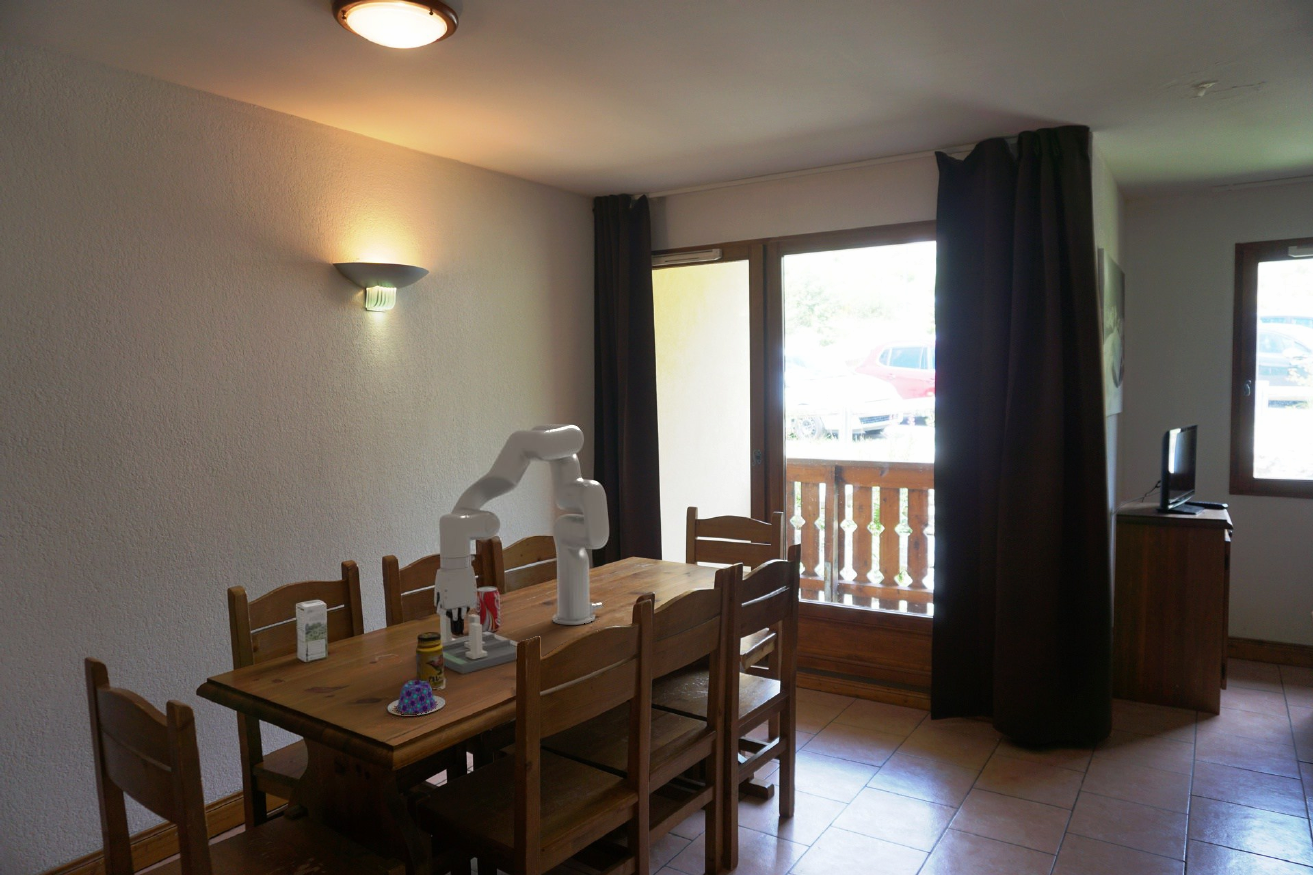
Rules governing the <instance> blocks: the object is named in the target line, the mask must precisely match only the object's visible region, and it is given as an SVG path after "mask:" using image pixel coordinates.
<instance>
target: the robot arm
mask: <svg viewBox="0 0 1313 875" xmlns="http://www.w3.org/2000/svg"><path fill="white" fill-rule="evenodd" d="M584 442H585V437H584V433H583V431H582V430H581V429H580V428H579V427H578V426H576V425H574V424H558V423H557V424H555V423H553V424H551V423H547V424H546V423H544V424H543V423H542V424H537V425H535V426H533V427H532V428H531V429H530V430H529V429H527V430H526V429H525V430H524V429H523V430H516V431H514V432H512V433H511V434H510V435H509V437H508V439H506V442H505V443H504V445H503V447H502V448H501V450H500V453H499V454H498V456H497V457H496V459H495V460H494V462H493V464H492V466H491V468H490V469H489V471H487V473H486V474H484V475H483V476H481V477H480V478H479V479H478V480H476V481H475V482H474V483H472V484H471V485H470V486H468V488H466V490H464V491H463V493H462V494H461V495H460V497H459V498H458V500H457V502H456V503H455V505H454V507H453V509H452V510H451V512H450V513H447V514H444V515H442V516H440V518H439V523H438V526H439V527H438V528H439V555H440V556H439V558H440V559H439V560H440V564H439V565H440V568H438V569H437V571H436V575H435V582H434V593H433V594H434V596H433V597H434V598H433V603H434V606H435V607H436V614H437V615H439V616H440V615H446V616H447V617H448V618H449V619H450V628H451V632H452V635H453V636H457V637H459V636H463V635H464V630H465V619H466V618H467V614H468V613H469V611H471V610H473V609H474V610H475V608H476V601H477V589H478V588H477V586H478V585H477V578H476V574H475V570H474V566H472V562H474V561H475V559H476V556H475V555H472V553H471V552H472V551H471V541H478V540H479V541H484V540H490V539H492V538H494V537H495V536H496V535H497V534H498V532H499V530H500V528H501V521H500V519H499V516H497V515H496V514H495V513H494V512H492V511H489V510H483V509H482V510H481V508H483V506H485V504H487V503H488V502H490V501H491V500H493V499H495V498H498V497H500V496H503V495H505V494H508V493H510V492H512V491H514V490H516V488H517V487H518V486H519V484H520V482H521V480H522V478H523V476H524V475H525V473H526V471H527V469H528V468H529V466H530V464H531V463H532V462H544V463H545V462H548V464H549V467H550V472H551V478H552V479H551V481H552V488H553V497H554V502H555V506H556V507H557V508H558V509H560V510H564V511H568V512H576V513H567V514H563V515H560V516H558V517H557V519H555V521H554V523H553V526H552V536H553V537H552V538H553V541H554V542H553V543H554V545H555V552H556V553H555V554H556V581H557V582H556V584H557V585H556V586H557V587H556V588H557V589H556V590H557V594H556V595H557V613H555V614H554V615H553V616H552V622H554V623H555V624H559V625H567V626H576V625H584V623H585V624H589V623H591V621H592V622H593V621H595V619H596V614H594V612H595V610H601V609H602V608H603V604H602V602H601V601H600V602H596V603H594V602H591V600H590V598H591V597H590V559H589V556H588V553H587V551H586V549H589V550H598V549H602V548H604V547H605V545H606V544H607V542H608V541H609V536H610V523H609V521H610V520H609V515H608V514H609V513H608V511H609V510H608V504H607V503H608V501H607V494H606V492H605V489H604V487H603V485H602V484H601V483H600V482H598V481H596V480H593V479H586V478H585V479H584V478H583V477H582V472H581V466H580V461H579V460H580V459H579V457H578V455H577V454H578V453H579V452H580V451H581V450H582V448H583V446H584ZM577 512H579V513H582V514H577Z"/></svg>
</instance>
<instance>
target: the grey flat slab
mask: <svg viewBox="0 0 1313 875" xmlns="http://www.w3.org/2000/svg"><path fill="white" fill-rule="evenodd" d="M454 639H456V640H457V642H454V643H450V644H446V645H442V646H443V667H446V668H448V669H450V670H453V671H455V672H457V673H459V674H461V675H464V674H467V673H468V674H469V673H471V672H475V671H480V670H483V669H487V668H491V667H495V666H498V665H502V664H503V665H504V664H506V663H510V662H513V661H517V660H516V648H517V643H519V642H518V641H515V640H512V639H509V638H506V637H504V636H501V635H498V634H495V633H494V632H488V631H487V632H482V641H483V642H485V645H482V650H484V651H486V652H487V656H485V657H481V658H477V659H471V658H469V657H466V652H469V651H470V649H469V648H467V647H464V643H465V642H469V634H468V635H464V636H461V637H456V638H454Z"/></svg>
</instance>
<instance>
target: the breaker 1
mask: <svg viewBox="0 0 1313 875" xmlns="http://www.w3.org/2000/svg"><path fill="white" fill-rule="evenodd" d="M439 620H440V623H439V624H440V626H439V627H440V635H441V644H442V645H446V644H450V643H454V642H457V640H456V639H455V638H453V634H452V632H451V628H450V619H449V618H448V617H447V616H446V615H439Z"/></svg>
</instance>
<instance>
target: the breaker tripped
mask: <svg viewBox="0 0 1313 875" xmlns="http://www.w3.org/2000/svg"><path fill="white" fill-rule="evenodd" d="M467 618H468V635H469V642H465V643H464V647H467V648H469V649H470V624H471V623H478V624H480V616H478V615H475V613H472V614H468V617H467ZM482 645H485V642H483V641H482Z"/></svg>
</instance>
